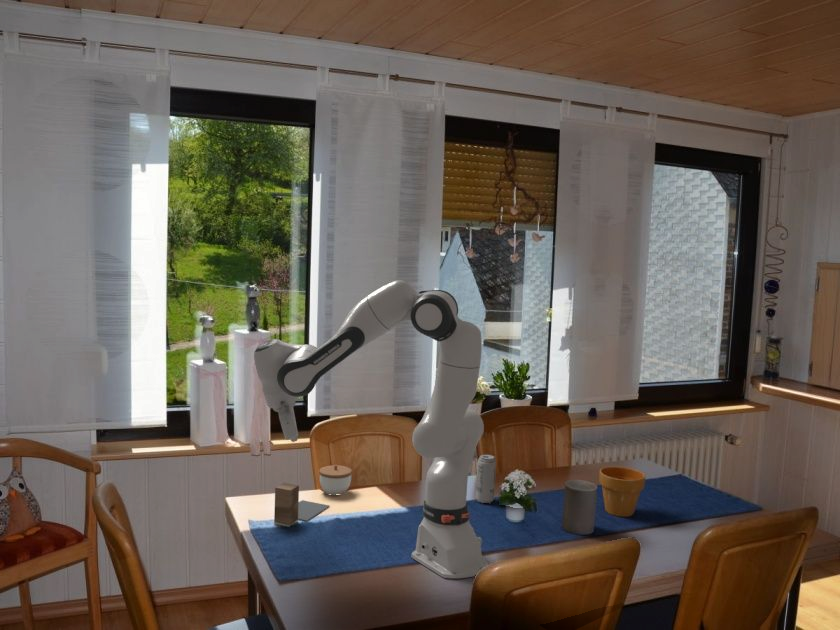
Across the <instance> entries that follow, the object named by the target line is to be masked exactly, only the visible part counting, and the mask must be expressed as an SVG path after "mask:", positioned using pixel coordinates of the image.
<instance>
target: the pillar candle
mask: <svg viewBox="0 0 840 630" xmlns="http://www.w3.org/2000/svg"><path fill="white" fill-rule="evenodd" d="M563 490H564V493H563V507H562V518H561V528H562V530H564V531H566V532H567V533H570V534H574V535H580V536H583V535H590V534H592V533H594V530H595V519H596V505H597V497H598V495H597V494H598V485H596V484H595V483H594V482H590V481H588V480H582V479H570V480H567V481H565V483H564V489H563Z"/></svg>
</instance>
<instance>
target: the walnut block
mask: <svg viewBox="0 0 840 630" xmlns="http://www.w3.org/2000/svg"><path fill="white" fill-rule="evenodd" d="M299 498H300V485H299V484H293V483H288V482H282V483H281V484H279V485H278V486H276V487H274V516H273V517H274V519H273V520H274V522H273V524H274V525H277V524H279V525H278V526H281V525H283V527H286V526H287V528H290V527H292V526H293V525H294V523H295V524H296V523H298V522H299V520H298V504H299V502H300V501H299V500H300V499H299ZM297 521H298V522H297ZM291 525H292V526H291Z"/></svg>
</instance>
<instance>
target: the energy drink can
mask: <svg viewBox="0 0 840 630" xmlns="http://www.w3.org/2000/svg"><path fill="white" fill-rule="evenodd" d="M496 466H497V462H496V459H495V456H494V455H491V454H481V455H479V458H478V460H477V467H476V468H477V469H476V485H475V487H476V488H475V499H476V501H477V502H478V503H479V502H481V503H480V504H483V503H489V504H491V502H492V503H493V501H494V500H495V490H496V489H495V486H496V485H495V484H496V470H497V469H496Z"/></svg>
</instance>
